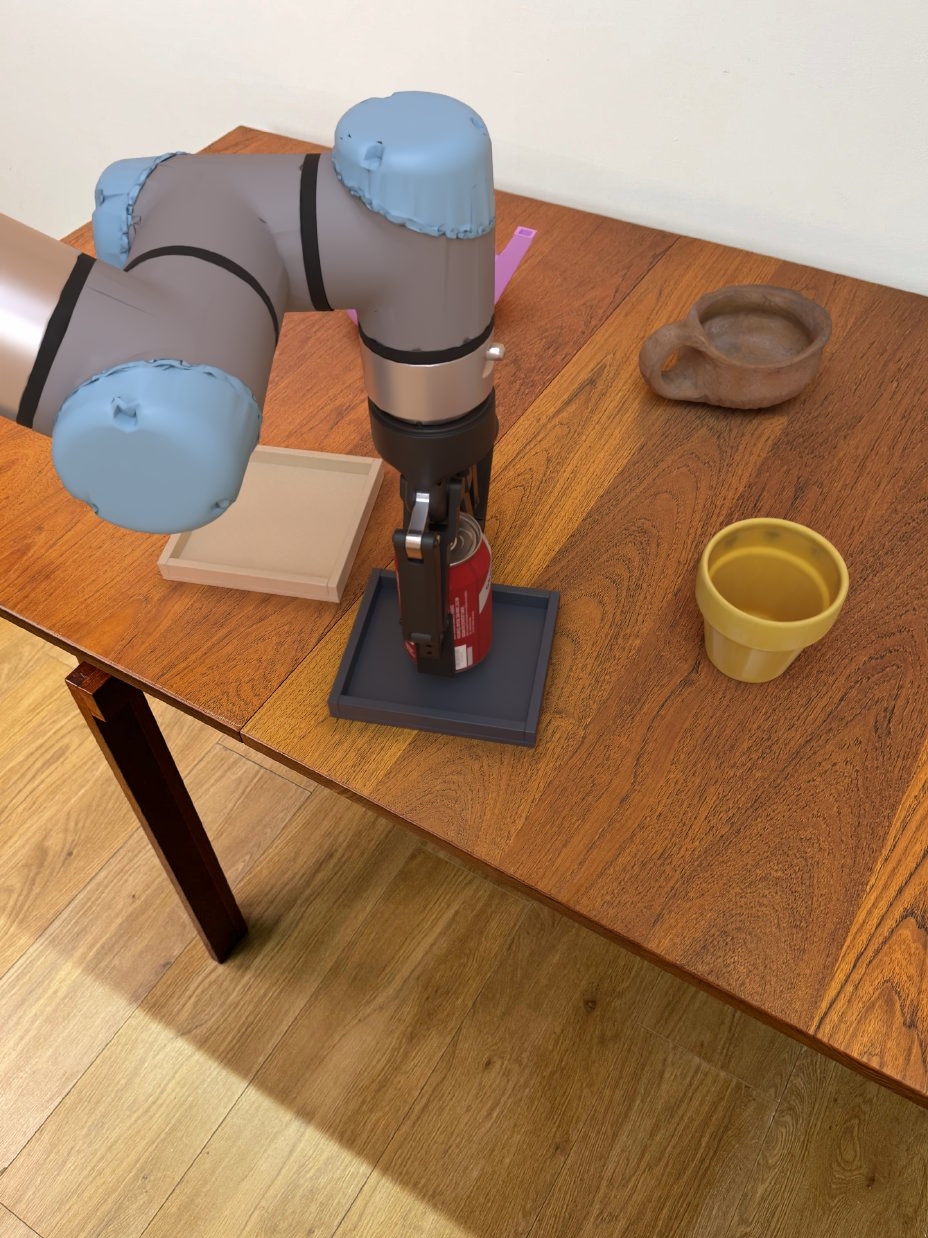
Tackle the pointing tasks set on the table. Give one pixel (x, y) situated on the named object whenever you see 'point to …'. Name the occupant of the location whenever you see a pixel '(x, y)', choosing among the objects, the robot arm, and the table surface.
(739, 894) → the table surface
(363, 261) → the robot arm
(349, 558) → the cup tray
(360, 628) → the can tray
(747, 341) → the bowl
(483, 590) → the soda can
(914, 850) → the table surface
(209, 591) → the table surface
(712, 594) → the flower pot
